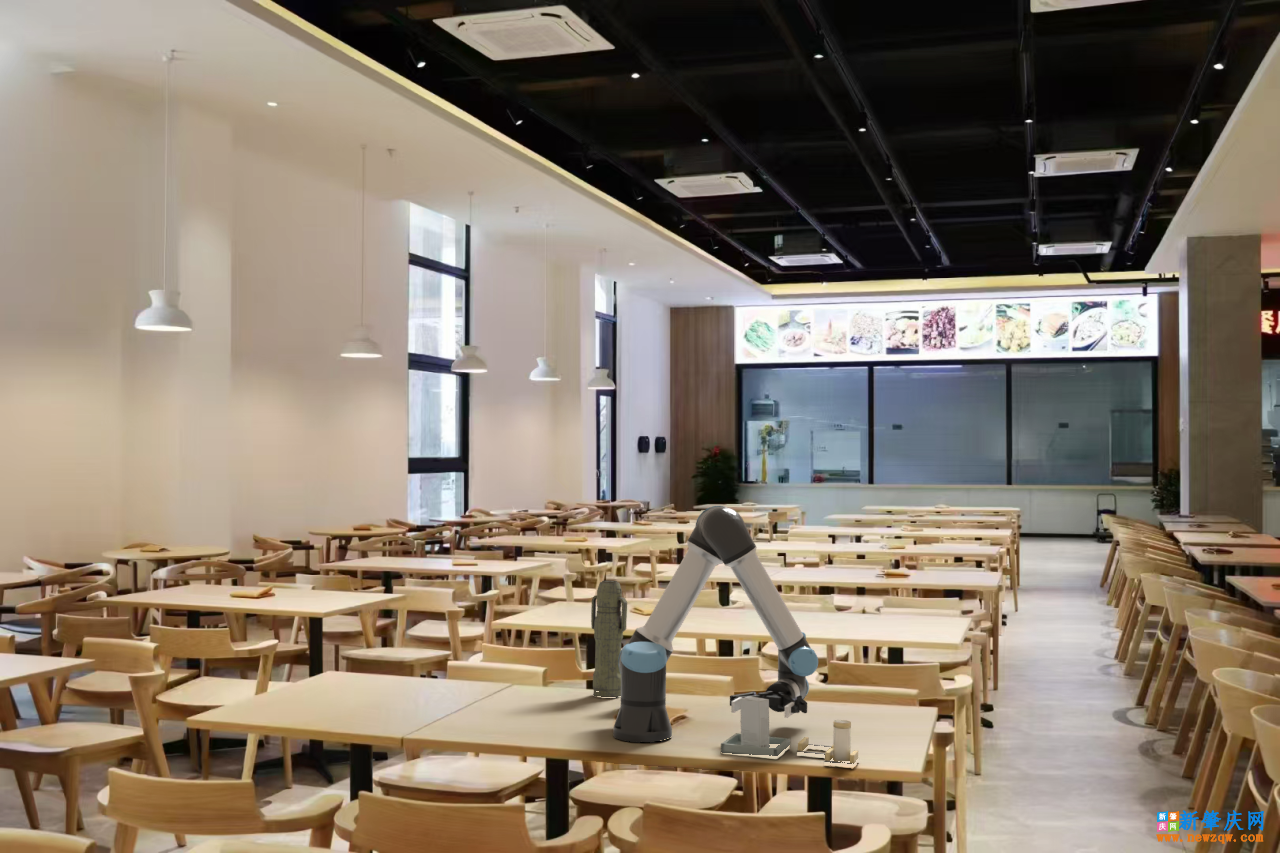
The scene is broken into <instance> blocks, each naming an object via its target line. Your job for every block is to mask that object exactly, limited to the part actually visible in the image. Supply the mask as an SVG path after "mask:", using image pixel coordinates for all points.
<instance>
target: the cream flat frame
mask: <svg viewBox="0 0 1280 853" xmlns="http://www.w3.org/2000/svg"><path fill="white" fill-rule="evenodd" d="M808 745H813V743H810V742H809V737H808V736H804V737H803V738H802V739H801V740H799V742H797V750H796V753H797V752H804V753H815V754H824V755H825V759H824V761H823V763H824V762H830V763H831V762H832V763H841V762H838V761H830V760H831V759H832V758H833V744H832V745H823V744H815V743H814V746H820V745H821V746H824V747H831V748H829V749H828V750H827V751H824V753H823V752H819V751H817V752H816V751H809V750H808V751H803V750H804V749H805V748H806V747H807V746H808ZM858 758H859V750H853V751H852V752H850V763H847V764H852V763H853V764H854V763H855V762H856V760H857V759H858ZM842 763H843V762H842ZM844 763H845V762H844Z"/></svg>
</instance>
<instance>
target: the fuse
mask: <svg viewBox="0 0 1280 853" xmlns="http://www.w3.org/2000/svg"><path fill="white" fill-rule="evenodd" d="M832 723H833V724H832V725H833V735H832V736H833V742H832V743H833V744H832V745H833V760H834V761H840V762H842V761H850V754H851V748H852V746H851V745H852V743H851V740H852V739H851V738H852V737H851V732H852V731H851V730H852V729H851V728H852V721H850V720H847V719H836V720H835V719H834V720H833V722H832Z"/></svg>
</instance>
